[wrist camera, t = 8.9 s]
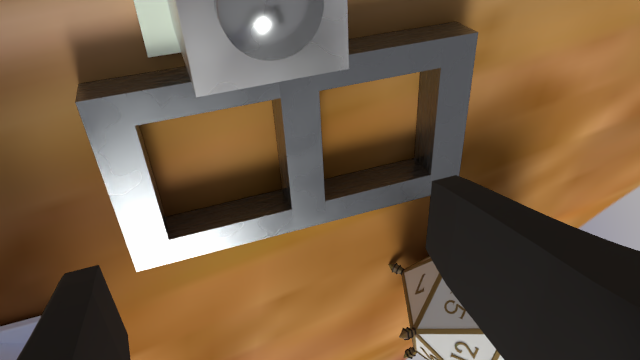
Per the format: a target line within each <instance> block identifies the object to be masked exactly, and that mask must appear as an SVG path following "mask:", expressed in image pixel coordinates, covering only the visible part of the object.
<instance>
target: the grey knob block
mask: <svg viewBox="0 0 640 360" xmlns="http://www.w3.org/2000/svg"><path fill="white" fill-rule="evenodd" d="M167 2H168V6H169V11H170V15H171V20H172V24H173V28H174V32H175V35H176V38H177V41H178V44H179V47H180V50H181V53H182V56H183V59H184V62H185V65H186V68H187V71H188V74H189V77H190V80H191V83H192V86H193V89H194V92H195V95H196V97H201V96H207V95H212V94H217V93H223V92H228V91H233V90H239V89H244V88H249V87H255V86H260V85H265V84H271V83H276V82H281V81H287V80H292V79H297V78H303V77H308V76H313V75H319V74H324V73H329V72H335V71H340V70H345V69H349V50H348V7H347V0H167Z"/></svg>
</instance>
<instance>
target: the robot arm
mask: <svg viewBox="0 0 640 360" xmlns="http://www.w3.org/2000/svg"><path fill="white" fill-rule="evenodd" d="M426 250H427V252H428V254H429V256H430V257H431V259H432V261H433V263H434V265H435V266H436V268H437V270H438V272H439V273H440V275H441V277H442V278H443V280H444V282H445V283H446V285H447V286H448V288H449V289H450V290H451V292H452V293H453V294H454V296H455V297H456V298H457V300H458V301H459V302H460V303H461V305H462V306H463V307H464V309H465V310H466V311H467V313H468V314H469V315H470V316H471V318H472V319H473V320H474V322H475V323H476V324H477V325H478V327H479V328H480V329H481V331H482V332H483V333H484V334H485V336H486V337H487V338H488V340H489V341H490V342H491V344H492V345H493V346H494V347H495V349H496V350H497V351H498V353H499V354H500V355H501V356H502V358H503V359H504V360H640V251H637V250H634V249H631V248H628V247H625V246H622V245H619V244H616V243H614V242H611V241H608V240H605V239H603V238H600V237H598V236H595V235H592V234H590V233H587V232H585V231H582V230H580V229H577V228H575V227H572V226H570V225H567V224H565V223H563V222H560V221H558V220H556V219H553V218H551V217H549V216H546V215H544V214H542V213H540V212H537V211H535V210H533V209H531V208H528V207H526V206H524V205H522V204H520V203H518V202H515V201H513V200H511V199H509V198H507V197H505V196H502V195H500V194H498V193H496V192H494V191H492V190H489V189H487V188H485V187H483V186H481V185H478V184H476V183H474V182H472V181H469V180H467V179H464V178H462V177H459V176H457V175H454V176H450V177H446V178H442V179H438V180H434V181H432V187H431V197H430V207H429V218H428V228H427V239H426ZM0 360H130V352H129V343H128V334H127V332H126V329H125V327H124V325H123V322H122V320H121V317H120V315H119V313H118V310H117V308H116V305H115V303H114V301H113V298H112V296H111V293H110V291H109V289H108V286H107V284H106V281H105V279H104V277H103V274H102V272H101V269H100V267H99V265H97V266H93V267H89V268H85V269H81V270H77V271H73V272H69V273H65V274H64V276H63V277H62V278H61V280H60V282H59V283H58V285H57V287H56V289H55V291H54V293H53V295H52V297H51V299H50V301H49V302H48V304H47V306H46V308H45V310H44V312H43V314H42V315H41V316H38V317H34V318H30V319H26V320H23V321H19V322H15V323H11V324H8V325H4V326H0Z"/></svg>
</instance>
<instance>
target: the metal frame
mask: <svg viewBox="0 0 640 360" xmlns="http://www.w3.org/2000/svg"><path fill="white" fill-rule="evenodd" d="M477 37H478V32H476V31H474V30H472V29H470V28H468V27H466V26H464V25H462V24H460V23H458V22H451V23H445V24H439V25H433V26H427V27H421V28H415V29H409V30H403V31H397V32H391V33H385V34H378V35H372V36H366V37H360V38H354V39H348V50H349V69H345V70H340V71H335V72H329V73H324V74H319V75H313V76H308V77H303V78H297V79H292V80H287V81H281V82H276V83H271V84H265V85H260V86H255V87H249V88H244V89H239V90H233V91H228V92H223V93H217V94H212V95H207V96H201V97H196V95H195V92H194V89H193V86H192V83H191V80H190V77H189V74H188V71H187V68H186V66H185V67H179V68H173V69H166V70H160V71H154V72H148V73H142V74H136V75H130V76H124V77H118V78H112V79H106V80H100V81H94V82H88V83H82V84H78V90H77V96H76V105H77V108H78V111H79V114H80V116H81V119H82V122H83V125H84V127H85V130H86V133H87V136H88V138H89V141H90V144H91V147H92V150H93V152H94V155H95V158H96V161H97V163H98V166H99V169H100V172H101V175H102V177H103V180H104V183H105V186H106V188H107V191H108V194H109V197H110V199H111V202H112V205H113V208H114V211H115V213H116V216H117V219H118V222H119V224H120V227H121V230H122V233H123V235H124V238H125V241H126V244H127V247H128V249H129V252H130V255H131V258H132V260H133V263H134V266H135V269H136V272H138V271H142V270H146V269H150V268H153V267H157V266H161V265H165V264H169V263H173V262H176V261H180V260H184V259H188V258H192V257H196V256H200V255H203V254H207V253H211V252H215V251H219V250H223V249H226V248H230V247H234V246H238V245H242V244H246V243H250V242H253V241H257V240H261V239H265V238H269V237H273V236H277V235H280V234H284V233H288V232H292V231H296V230H300V229H303V228H307V227H311V226H315V225H319V224H323V223H327V222H330V221H334V220H338V219H342V218H346V217H350V216H353V215H357V214H361V213H365V212H369V211H373V210H377V209H380V208H384V207H388V206H392V205H396V204H400V203H403V202H407V201H411V200H415V199H419V198H423V197H427V196H430V195H431V187H432V181H434V180H438V179H442V178H446V177H450V176H454V175H457V176H459V173H460V165H461V158H462V150H463V143H464V135H465V128H466V120H467V113H468V105H469V97H470V90H471V82H472V75H473V67H474V60H475V52H476V45H477ZM416 72H420V83H419V98H418V112H417V127H416V141H415V155H414V158H413V159H409V160H405V161H400V162H396V163H392V164H388V165H383V166H379V167H375V168H371V169H367V170H362V171H358V172H354V173H350V174H345V175H341V176H337V177H333V178H329V179H324V173H323V155H322V136H321V118H320V100H319V91H321V90H326V89H332V88H337V87H342V86H347V85H353V84H358V83H363V82H368V81H374V80H379V79H384V78H390V77H395V76H400V75H405V74H411V73H416ZM268 100H272V104H273V113H274V122H275V131H276V139H277V148H278V157H279V166H280V175H281V183H282V190H278V191H274V192H269V193H265V194H261V195H257V196H253V197H248V198H244V199H240V200H236V201H232V202H227V203H223V204H219V205H215V206H210V207H206V208H202V209H198V210H194V211H189V212H185V213H181V214H177V215H172V216H168V217H165V214H164V210H163V207H162V203H161V200H160V196H159V193H158V189H157V186H156V182H155V179H154V176H153V172H152V169H151V165H150V162H149V158H148V155H147V151H146V148H145V144H144V141H143V138H142V134H141V131H140V127H139V125H142V124H147V123H152V122H158V121H163V120H168V119H173V118H179V117H184V116H189V115H194V114H200V113H205V112H210V111H216V110H221V109H226V108H231V107H237V106H242V105H247V104H252V103H258V102H263V101H268Z"/></svg>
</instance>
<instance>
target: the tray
mask: <svg viewBox="0 0 640 360" xmlns="http://www.w3.org/2000/svg"><path fill="white" fill-rule="evenodd" d="M134 4H135V8H136V12H137V16H138V20H139V24H140V28H141V32H142V35H143V39H144V43H145V47H146V51H147V55H148V58H149V57H155V56H161V55H168V54H174V53H180V52H181V50H180V47H179V44H178V41H177V38H176V35H175V32H174V28H173V24H172V20H171V15H170V11H169V6H168V2H167V0H134Z"/></svg>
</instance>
